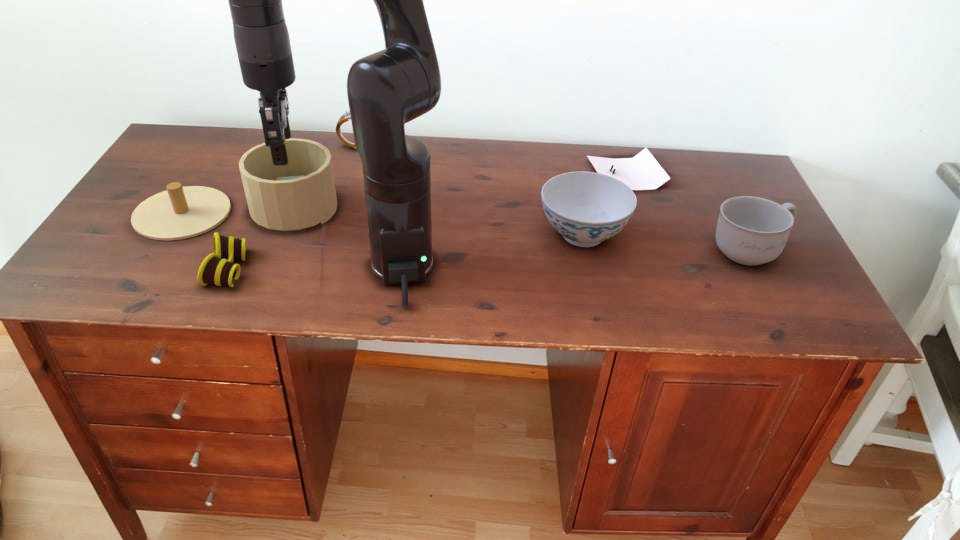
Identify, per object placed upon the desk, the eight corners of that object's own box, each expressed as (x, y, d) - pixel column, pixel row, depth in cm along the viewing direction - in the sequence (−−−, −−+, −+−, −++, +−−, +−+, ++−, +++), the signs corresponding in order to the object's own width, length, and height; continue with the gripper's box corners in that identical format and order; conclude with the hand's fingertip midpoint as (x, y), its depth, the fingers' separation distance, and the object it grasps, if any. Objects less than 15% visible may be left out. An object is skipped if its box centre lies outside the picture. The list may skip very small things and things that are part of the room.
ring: (375, 145, 130) (372, 108, 125) (371, 153, 127) (368, 115, 122) (341, 142, 130) (337, 105, 125) (336, 150, 128) (332, 112, 123)
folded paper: (585, 160, 128) (587, 151, 126) (644, 156, 130) (646, 147, 128) (606, 193, 118) (608, 184, 117) (669, 188, 121) (671, 179, 119)
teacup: (732, 279, 100) (747, 236, 95) (696, 238, 109) (708, 197, 103) (809, 266, 104) (827, 224, 99) (768, 227, 112) (783, 187, 107)
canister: (337, 229, 107) (331, 179, 101) (245, 236, 105) (233, 185, 99) (337, 183, 118) (331, 136, 112) (253, 188, 116) (243, 140, 110)
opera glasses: (235, 296, 95) (235, 270, 92) (197, 292, 94) (195, 265, 91) (249, 255, 103) (249, 230, 100) (214, 251, 102) (213, 225, 99)
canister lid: (225, 239, 104) (217, 208, 101) (122, 247, 102) (110, 215, 98) (236, 188, 116) (229, 159, 112) (144, 194, 114) (133, 164, 110)
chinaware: (646, 252, 105) (655, 212, 100) (562, 271, 101) (568, 231, 96) (599, 203, 116) (606, 165, 111) (522, 219, 111) (525, 180, 106)
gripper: (242, 34, 100) (262, 131, 110) (231, 71, 89) (254, 175, 99) (293, 32, 101) (308, 129, 111) (288, 68, 90) (305, 172, 100)
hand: (282, 150), depth 105 cm, fingers open, 8 cm apart
